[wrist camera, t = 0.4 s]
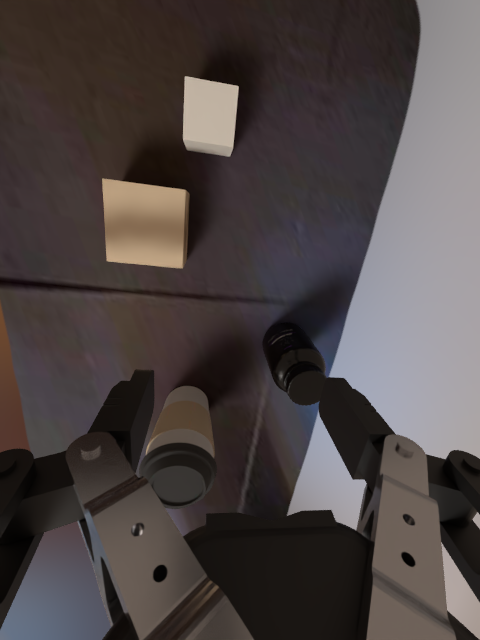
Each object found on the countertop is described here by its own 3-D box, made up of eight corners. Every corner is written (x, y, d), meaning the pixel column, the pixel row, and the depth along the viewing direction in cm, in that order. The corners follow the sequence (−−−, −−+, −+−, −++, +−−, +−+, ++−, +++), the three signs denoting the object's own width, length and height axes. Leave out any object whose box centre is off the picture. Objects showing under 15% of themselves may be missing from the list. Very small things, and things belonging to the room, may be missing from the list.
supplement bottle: (274, 314, 40) (299, 352, 29) (313, 331, 41) (350, 374, 30) (253, 352, 42) (268, 402, 31) (291, 367, 43) (318, 419, 32)
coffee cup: (155, 423, 45) (130, 517, 31) (161, 376, 42) (137, 457, 28) (209, 428, 46) (209, 520, 32) (219, 383, 43) (224, 464, 29)
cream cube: (189, 97, 30) (184, 76, 25) (234, 105, 30) (238, 86, 26) (187, 150, 31) (182, 139, 27) (230, 156, 32) (233, 147, 27)
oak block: (120, 184, 32) (102, 178, 26) (189, 193, 33) (185, 189, 28) (123, 253, 35) (106, 261, 29) (186, 259, 36) (182, 268, 30)
